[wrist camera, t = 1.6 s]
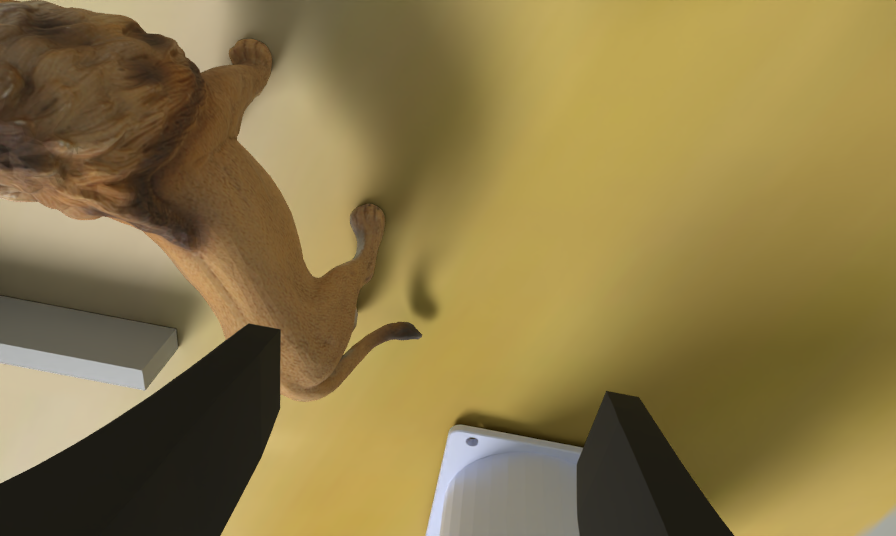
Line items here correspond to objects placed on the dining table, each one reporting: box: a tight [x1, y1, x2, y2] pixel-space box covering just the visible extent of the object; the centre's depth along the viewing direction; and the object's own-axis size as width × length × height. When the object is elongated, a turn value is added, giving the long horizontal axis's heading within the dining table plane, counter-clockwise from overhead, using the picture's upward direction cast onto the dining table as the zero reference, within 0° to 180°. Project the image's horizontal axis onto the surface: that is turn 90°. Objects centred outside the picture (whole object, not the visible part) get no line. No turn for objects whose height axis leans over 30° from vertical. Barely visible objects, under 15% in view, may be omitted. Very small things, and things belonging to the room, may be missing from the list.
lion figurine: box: [0, 0, 422, 401], centre depth 16 cm, size 15×5×9 cm, turn 37°
